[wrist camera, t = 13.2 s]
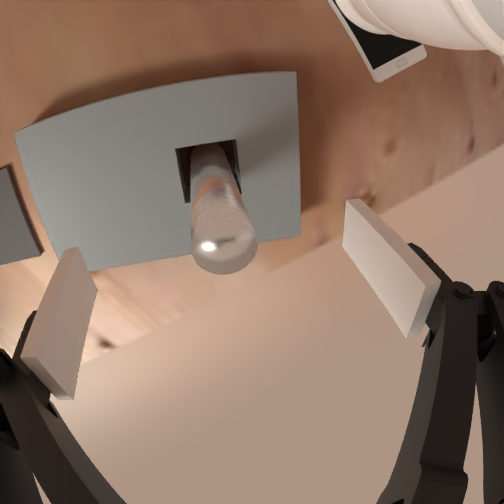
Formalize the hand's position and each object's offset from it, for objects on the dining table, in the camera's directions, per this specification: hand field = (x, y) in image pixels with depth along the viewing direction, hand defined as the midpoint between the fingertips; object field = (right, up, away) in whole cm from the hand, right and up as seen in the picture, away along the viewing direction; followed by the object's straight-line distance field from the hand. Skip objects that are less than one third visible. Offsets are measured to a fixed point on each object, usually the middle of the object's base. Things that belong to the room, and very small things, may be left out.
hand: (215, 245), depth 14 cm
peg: (-2, +8, +11) cm, 14 cm away
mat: (-25, +3, +9) cm, 27 cm away
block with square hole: (-6, +7, +11) cm, 14 cm away
